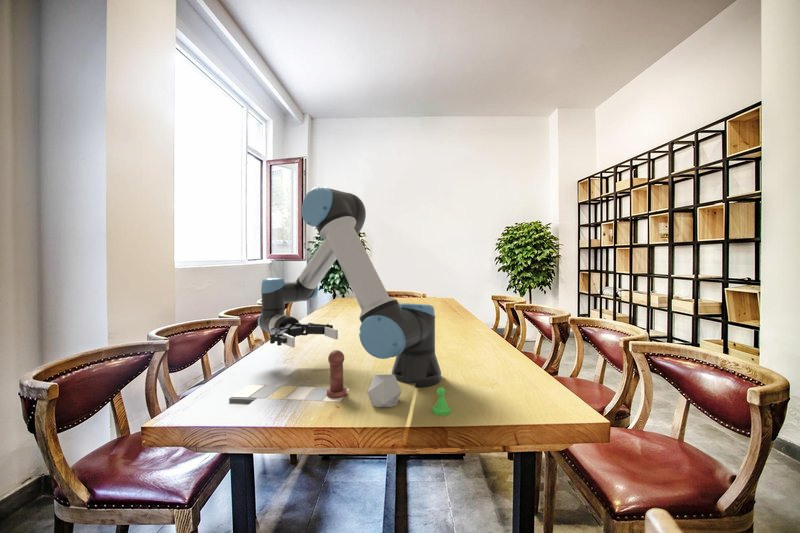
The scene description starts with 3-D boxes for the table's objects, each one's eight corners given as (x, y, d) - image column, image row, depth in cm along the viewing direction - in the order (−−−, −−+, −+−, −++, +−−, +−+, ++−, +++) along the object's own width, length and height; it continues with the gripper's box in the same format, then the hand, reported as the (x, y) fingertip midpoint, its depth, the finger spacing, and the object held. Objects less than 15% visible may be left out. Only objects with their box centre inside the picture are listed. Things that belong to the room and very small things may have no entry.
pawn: (349, 391, 93) (348, 348, 92) (343, 398, 87) (342, 353, 87) (330, 390, 93) (329, 347, 93) (323, 398, 88) (323, 352, 88)
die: (389, 421, 79) (409, 383, 82) (357, 400, 80) (379, 364, 83) (389, 418, 87) (408, 383, 90) (361, 399, 88) (380, 366, 91)
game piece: (441, 417, 79) (440, 391, 79) (428, 410, 83) (428, 386, 82) (454, 412, 82) (454, 387, 82) (441, 406, 85) (441, 382, 85)
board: (351, 391, 95) (351, 387, 95) (340, 407, 85) (340, 402, 85) (250, 387, 99) (250, 383, 99) (229, 402, 89) (229, 397, 89)
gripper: (318, 332, 122) (352, 343, 106) (245, 344, 105) (273, 360, 89) (318, 311, 122) (352, 319, 106) (245, 320, 105) (272, 331, 89)
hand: (316, 338), depth 98 cm, fingers open, 13 cm apart
